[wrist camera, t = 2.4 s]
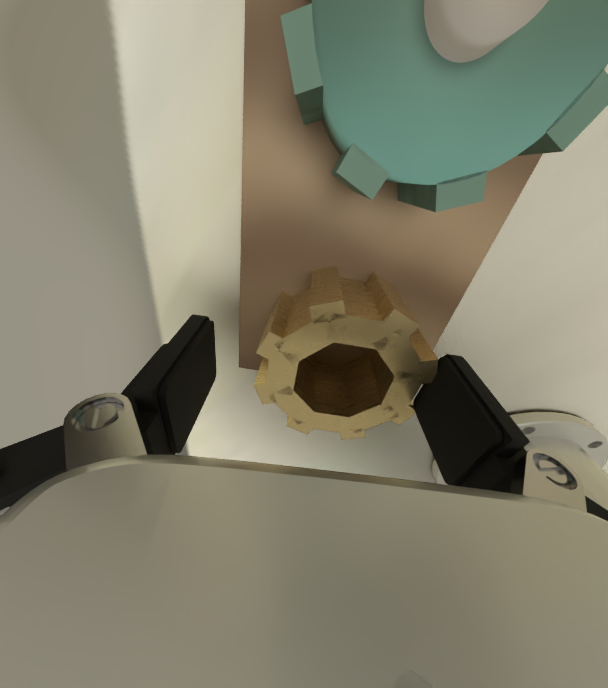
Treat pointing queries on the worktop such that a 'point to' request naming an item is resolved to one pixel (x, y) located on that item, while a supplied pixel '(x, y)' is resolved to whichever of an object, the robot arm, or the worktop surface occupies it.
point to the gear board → (400, 140)
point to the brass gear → (353, 376)
